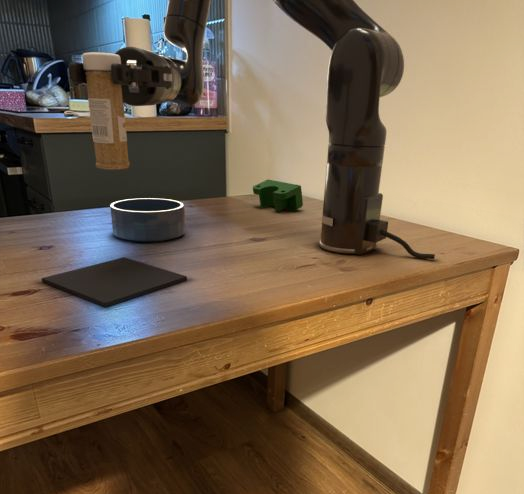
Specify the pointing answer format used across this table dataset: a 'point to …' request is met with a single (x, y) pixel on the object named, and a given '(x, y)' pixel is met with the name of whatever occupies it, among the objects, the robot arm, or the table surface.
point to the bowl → (148, 219)
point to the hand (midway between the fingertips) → (94, 73)
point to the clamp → (279, 195)
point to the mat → (114, 281)
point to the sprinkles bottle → (106, 111)
